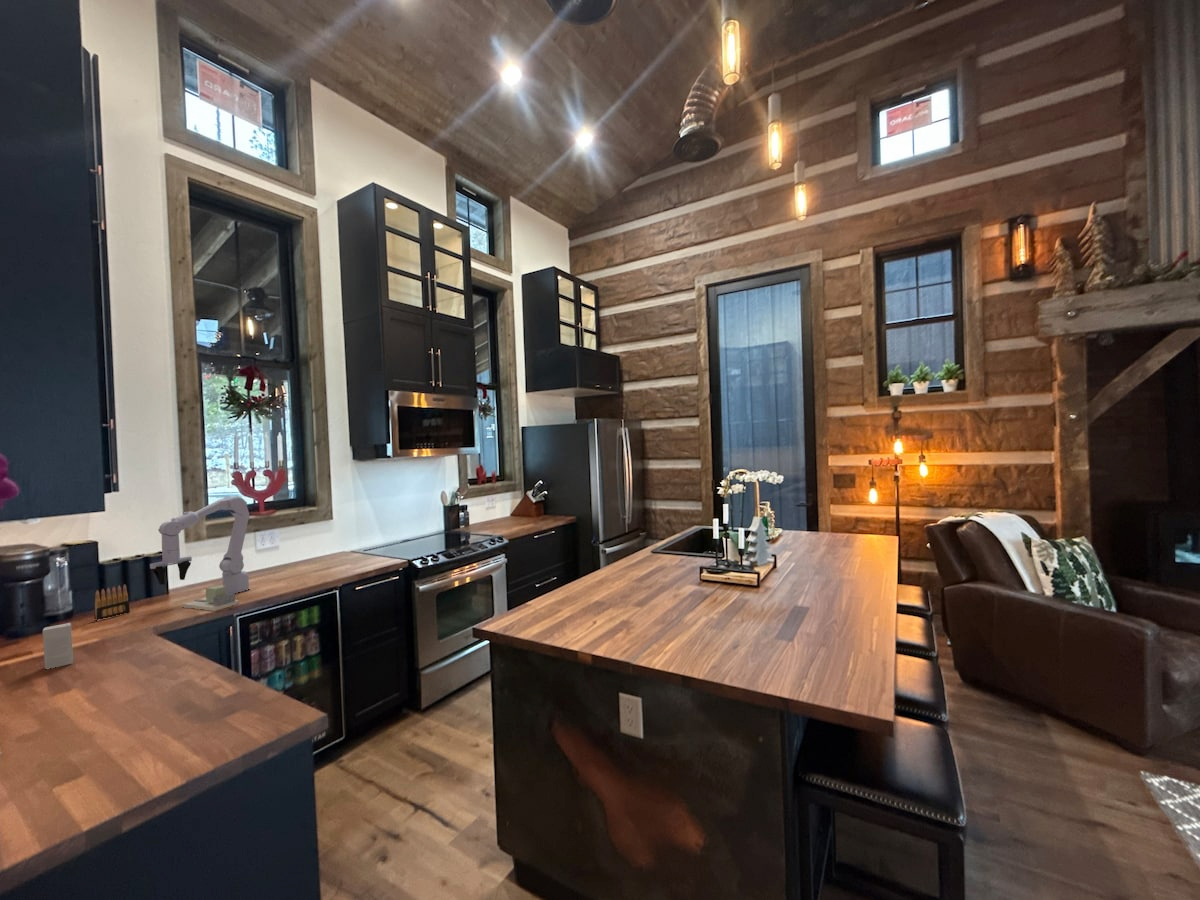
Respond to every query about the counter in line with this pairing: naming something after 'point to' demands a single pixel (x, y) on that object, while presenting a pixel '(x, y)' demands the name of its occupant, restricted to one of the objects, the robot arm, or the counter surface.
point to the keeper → (214, 592)
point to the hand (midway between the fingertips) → (172, 581)
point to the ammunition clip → (111, 603)
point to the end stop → (224, 599)
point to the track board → (207, 605)
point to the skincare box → (57, 645)
